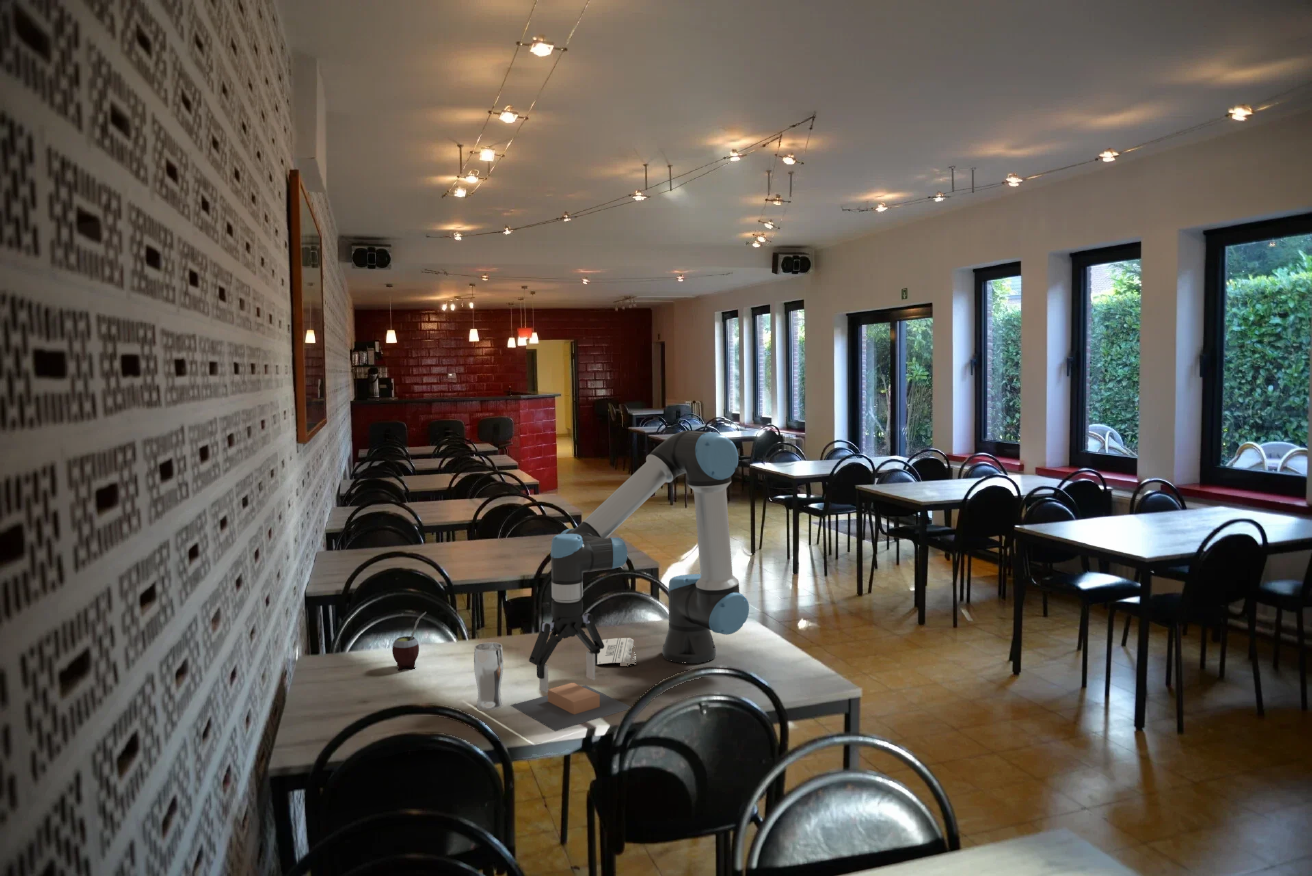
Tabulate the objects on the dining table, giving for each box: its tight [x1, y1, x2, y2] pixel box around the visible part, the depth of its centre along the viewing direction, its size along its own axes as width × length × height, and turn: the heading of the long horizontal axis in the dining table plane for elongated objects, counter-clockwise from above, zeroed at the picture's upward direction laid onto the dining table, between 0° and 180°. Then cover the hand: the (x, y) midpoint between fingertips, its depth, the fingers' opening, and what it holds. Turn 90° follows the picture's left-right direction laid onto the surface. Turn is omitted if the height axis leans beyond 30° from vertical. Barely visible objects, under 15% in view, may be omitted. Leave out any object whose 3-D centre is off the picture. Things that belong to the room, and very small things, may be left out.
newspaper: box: [597, 637, 637, 665], centre depth 260 cm, size 23×12×2 cm, turn 178°
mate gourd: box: [391, 611, 427, 672], centre depth 248 cm, size 8×8×15 cm
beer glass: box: [473, 641, 504, 712], centre depth 219 cm, size 7×7×15 cm
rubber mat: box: [509, 684, 631, 732], centre depth 218 cm, size 22×20×1 cm
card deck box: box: [547, 682, 600, 714], centre depth 220 cm, size 8×3×11 cm
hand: (567, 684), depth 221 cm, fingers open, 13 cm apart
